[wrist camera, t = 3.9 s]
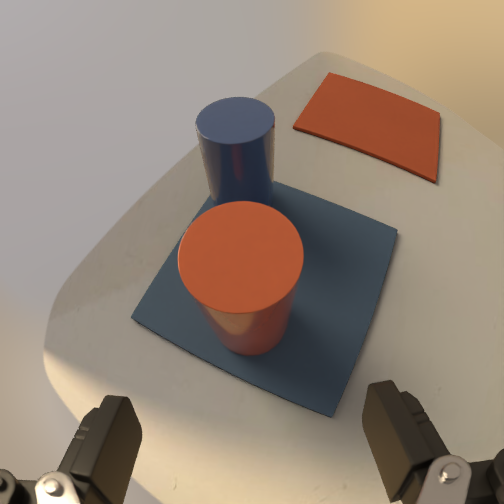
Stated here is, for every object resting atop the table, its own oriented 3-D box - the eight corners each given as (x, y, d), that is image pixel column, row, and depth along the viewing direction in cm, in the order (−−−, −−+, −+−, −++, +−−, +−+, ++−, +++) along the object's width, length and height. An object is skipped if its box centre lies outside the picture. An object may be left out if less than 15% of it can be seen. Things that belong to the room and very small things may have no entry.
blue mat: (132, 318, 22) (130, 317, 22) (230, 169, 29) (230, 166, 28) (330, 417, 18) (331, 417, 18) (396, 231, 25) (397, 229, 25)
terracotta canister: (199, 335, 21) (154, 279, 12) (234, 273, 23) (216, 186, 14) (267, 368, 20) (270, 336, 11) (299, 302, 22) (321, 226, 13)
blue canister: (202, 214, 26) (179, 132, 18) (231, 173, 28) (220, 91, 20) (256, 236, 25) (252, 153, 17) (282, 191, 27) (286, 106, 19)
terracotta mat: (292, 128, 31) (292, 125, 31) (328, 74, 37) (329, 72, 37) (434, 183, 28) (436, 181, 27) (438, 115, 33) (439, 113, 33)
